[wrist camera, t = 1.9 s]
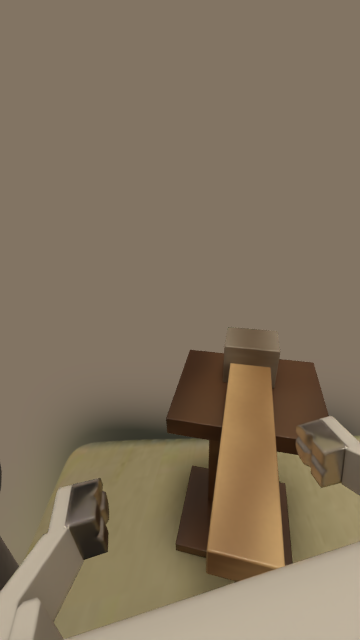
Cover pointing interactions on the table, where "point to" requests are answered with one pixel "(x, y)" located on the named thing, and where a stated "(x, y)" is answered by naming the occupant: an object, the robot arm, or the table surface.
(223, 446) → the beech bar
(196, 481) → the wooden pedestal stand
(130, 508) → the table surface
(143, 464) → the table surface
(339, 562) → the robot arm
